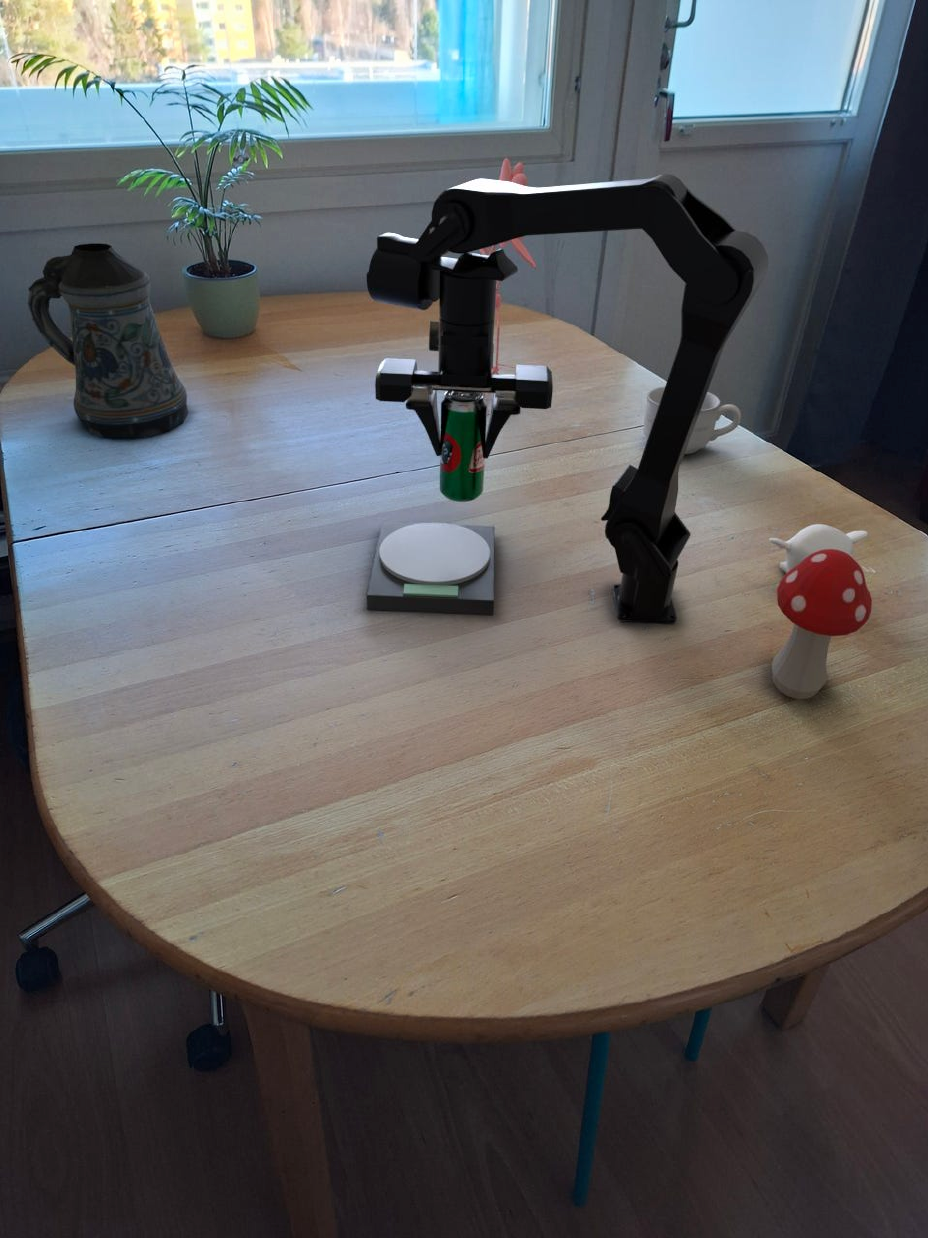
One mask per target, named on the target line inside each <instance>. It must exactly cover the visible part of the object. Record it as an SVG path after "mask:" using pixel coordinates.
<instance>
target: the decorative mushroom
mask: <svg viewBox="0 0 928 1238" xmlns="http://www.w3.org/2000/svg"><path fill="white" fill-rule="evenodd" d="M862 569H863V567H861V565H860V564H859V562H858V561H857V560H856V559H855V558H854V557H853V555H852V556H850V555H849V554H847V553H845V552H843V551H840V550H835V549H824V550H820V551H817V552H814V553H812V554H810V555H809V556H808V557H806V558H805V559H804V560H803V561H802V562H800V564H799V565H797V566H796V567H794V568H793V569H791V570H790V571H789V572H787V573H786V572H785V574H784V576H783V577H782V578H781V580H780V582H779V584H778V586H777V588H776V597H777V598H776V599H777V606H778V608H779V609H780V612H781V613H782V615H784V617H786V618H787V619H788V620H789V621H790V622H791V623H792V624H793V627H792V631H791V633H790V635H789V637H788V639H787V640H786V642H785V643H784V645H783V647H782V648H781V650H780V651H779V652H778V653H777V654H776V655H775V657H774V658H773V659H772V662H771V672H772V673H771V674H772V677H771V678H772V682H773V685H774V687H776V689H777V690H778V691H779V692H780V693H782V694H783V695H784V696H786V697H789V698H791V699H795V700H808V699H810V698H813V697H815V695H817V694H818V692H819V691H820V690H822V688H823V687H824V685H825V684H826V682H827V679H828V672H827V661H828V652H829V647H830V643H831V639H832V637H840V636H848V635H851V634H853V633H855V632H858V631H859V630H861V628H862V627H863V626H864V625H866V623H867V622H868V620H869V619H870V616H871V613H872V605H873V600H872V594H871V592H870V590H869V587H868V585H867V581H866V577H865V574H864V571H863V570H864V569H863V570H862Z"/></svg>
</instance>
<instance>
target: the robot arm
mask: <svg viewBox="0 0 928 1238" xmlns="http://www.w3.org/2000/svg"><path fill="white" fill-rule="evenodd" d="M629 230H631V231H632V230H642V231H644V233H646V234H647V236H649V238H650V239H651V240H652V242H653V243H654V244H655V246H656V248H657V249H658V250H659V252H660V254H661V255H662V257H663V258H664V260H665V262H666V263H667V265H668V266H669V267H670V268H671V270H672V271H673V272H674V273H675V274H676V275H677V276H678V277H679V278H680V279H681V280H682V281H683V282H684V290H683V294H682V295H683V296H682V301H681V310H680V341H679V345H678V347H677V350H676V353H675V356H674V359H673V362H672V365H671V369H670V371H669V375H668V377H667V380H666V382H665V386H664V387H665V389H664V392H663V395H662V398H661V401H660V404H659V407H658V410H657V413H656V416H655V419H654V422H653V425H652V428H651V431H650V434H649V437H648V439H647V440H646V443H645V445H644V449H643V452H642V455H641V458H640V460H639V464H638V467H636V466H634V465H631V464H628V466H627V467H626V468H625V469H624V470H623V472H622V473H621V475H620V476H619V477H618V478H617V480H616V481H615V483H614V484H613V485H612V486H611V490H610V494H609V502H608V507H607V510H605V512H604V514H603V515H602V516H601V518H600V520H601V521H602V522H605V521H606V523H605V526H604V535H605V538H606V539H607V540H608V542H609V544H610V545H611V546H612V547H613V548H614V552H615V556H616V560H617V565H618V568H619V572H620V573H621V574H622V576H621V580H620V581H621V582H620V584H613V585H612V586H611V587H612V588H611V591H612V596H613V603H614V607H615V612H616V618H617V620H619V621H621V622H642V623H668V624H675V623H676V622H677V613H676V611H675V606H674V603H673V599H672V596H673V591H674V586H675V582H676V578H677V577H676V576H677V573H678V567H679V557H680V555H681V553H682V552H683V550H684V549H685V547H686V545H687V543H688V541H689V539H690V538H691V535H692V534H691V532H690V530H689V529H688V527H687V526H686V525H685V523H684V522H683V521H682V520H681V518H680V516H679V515H678V514H677V513H676V506H677V500H678V496H679V471H680V467H681V464H682V462H683V459H684V457H685V455H686V454H685V451H686V448H687V445H688V443H689V440H690V437H691V435H692V432H693V429H694V426H695V424H696V421H697V418H698V416H699V413H700V410H701V408H702V405H703V402H704V399H705V397H706V394H707V392H709V388H710V386H711V383H712V380H713V378H714V375H715V372H716V369H717V367H718V364H719V361H720V358H721V356H722V354H723V350H724V347H725V345H726V343H727V341H728V340H729V338H730V336H731V335H732V333H733V331H734V330H735V328H736V326H737V325H738V323H739V321H740V319H741V318H742V317H743V315H744V313H745V312H746V310H747V309H748V307H749V305H750V303H751V302H752V300H753V298H754V297H755V295H756V292H757V291H758V289H759V287H760V286H761V284H762V282H763V281H764V279H765V277H766V275H767V272H768V267H769V255H768V253H767V251H766V248H765V246H764V244H763V243H762V242H761V241H760V239H759V238H758V237H757V236H755V235H753V234H751V233H750V232H747V231H739V230H737V229H736V228H735V227H734V226H733V225H732V224H731V223H730V222H729V221H728V220H727V219H726V218H725V217H724V216H723V215H722V214H720V213H719V212H718V211H716V210H715V209H714V208H713V207H712V206H709V204H707V203H705V202H704V201H703V200H701V199H700V198H699V197H697V196H696V195H695V194H694V193H693V192H692V190H690V189H689V188H688V187H687V186H686V185H685V184H684V183H683V181H682V180H681V179H680V178H679V177H677V176H675V175H673V174H668V173H664V174H663V173H662V174H659V175H657V176H655V177H652V178H641V179H639V178H638V179H626V180H614V181H603V182H602V181H601V182H591V183H590V182H589V183H579V184H568V185H555V186H554V185H553V186H543V187H536V186H535V187H534V186H528V185H527V186H523V185H519V184H516V183H512V182H507V181H499V179H489V178H476V179H473V180H470V181H467V182H463V183H462V184H458V185H456V186H453V187H450V188H448V189H445V190H443V191H442V192H440V193H439V194H438V196H437V198H436V200H435V202H433V207H432V209H431V221H430V222H429V223H428V225H427V227H426V228H425V229H424V230H423V232H422V233H421V235H420V236H419V238H413V237H406V236H403V235H401V234H398V233H392V232H386V233H383V234H380V235H377V237H376V248H375V251H374V252H373V253H372V256H371V259H370V261H369V262H370V263H369V266H368V271H367V272H366V287H367V291H368V294H369V297H370V298H371V299H372V300H373V301H374V302H377V303H380V304H387V305H393V306H399V307H402V308H403V307H404V308H409V309H414V310H419V311H427V310H428V309H429V308H430V307H431V306H432V305H433V303H436V302H439V303H438V304H439V305H438V307H439V308H438V315H439V316H438V321H435V320H434V321H432V320H430V321H429V334H428V350H429V351H430V352H438V363H437V364H438V365H437V367H438V369H437V370H438V371H431V370H430V371H429V370H418V362H417V359H407V358H406V359H405V358H387V357H385V358H384V359H383V361H381V362H380V364H379V366H378V370H377V372H376V375H375V383H374V387H375V389H374V390H375V391H374V392H375V400H376V401H379V402H388V403H389V402H391V403H392V402H393V403H405V409H407V410H409V411H413V412H414V413H416V415H417V417H418V419H419V420H420V422H421V424H422V426H423V427H424V429H425V432H426V434H427V436H428V438H429V441H430V444H431V446H432V449H433V451H434V454H435V456H436V457H440V436H441V425H440V419H439V409H438V391H444V392H447V391H463V392H484V393H485V394H493V395H492V396H493V397H492V403H491V409H490V413H489V414H490V415H489V420H488V425H487V429H486V441H485V453H484V458H485V460H486V459H487V460H488V459H489V457H490V455H491V453H492V450H493V448H494V446H495V444H496V441H497V439H498V437H499V435H500V433H501V431H502V430H503V428H504V426H505V425H506V423H507V422H508V420H509V419H510V417H511V416H518V415H520V414H521V410H522V409H529V410H530V409H532V410H548V409H551V408H552V402H553V401H552V400H553V392H554V391H553V388H554V387H553V386H554V385H553V384H554V383H553V374H552V373H553V372H552V371H551V369H550V368H549V367H548V365H534V364H533V365H532V364H515V374H499V375H497V374H496V373H495V374H492V371H493V367H494V352H495V351H494V347H495V345H494V336H495V317H496V316H495V314H496V309H495V298H496V286H497V281H500V282H503V281H505V280H507V279H508V278H511V276H513V275H516V274H517V273H518V272H519V271H518V270H519V269H518V266H517V265H516V264H515V262H513V261H512V260H511V259H510V258H509V257H508V256H507V254H506V253H505V250H504V249H503V248H498V249H496V250H495V251H494V252H493V253H491V255H490V256H489V255H482V254H481V253H474V251H480V249H483V248H486V247H487V248H489V247H492V246H493V245H497V246H498V245H500V243H503V242H506V241H508V242H510V241H509V240H512V239H516V238H519V237H523V236H524V237H526V236H543V235H559V234H561V235H562V234H578V233H594V232H611V231H612V232H613V231H629ZM524 237H523V238H524ZM483 250H484V249H483ZM448 253H451V254H458V255H460V256H459V257H458V258H452V257H446V256H444V255H446V254H448Z"/></svg>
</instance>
